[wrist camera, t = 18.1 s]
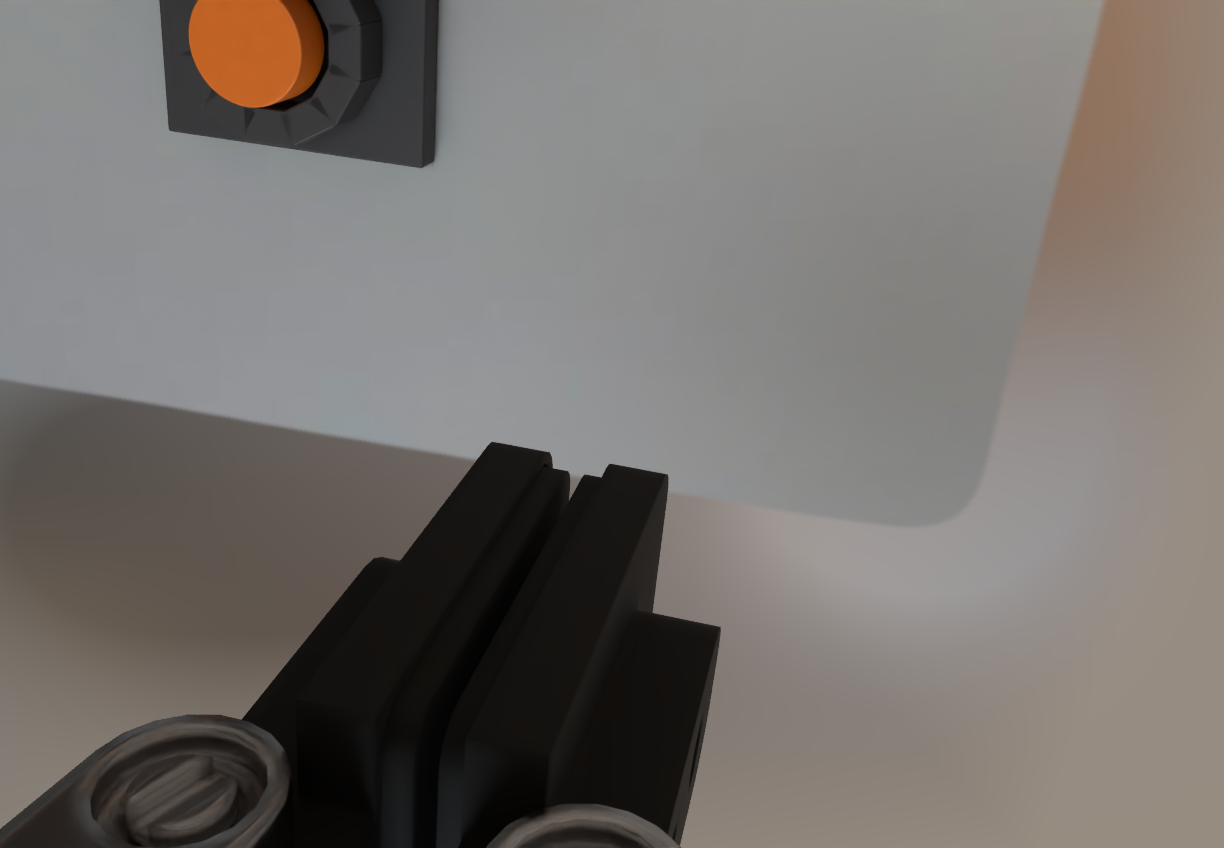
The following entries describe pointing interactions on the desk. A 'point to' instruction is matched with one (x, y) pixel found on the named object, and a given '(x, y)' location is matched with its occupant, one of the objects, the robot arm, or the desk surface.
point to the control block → (327, 86)
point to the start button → (256, 48)
